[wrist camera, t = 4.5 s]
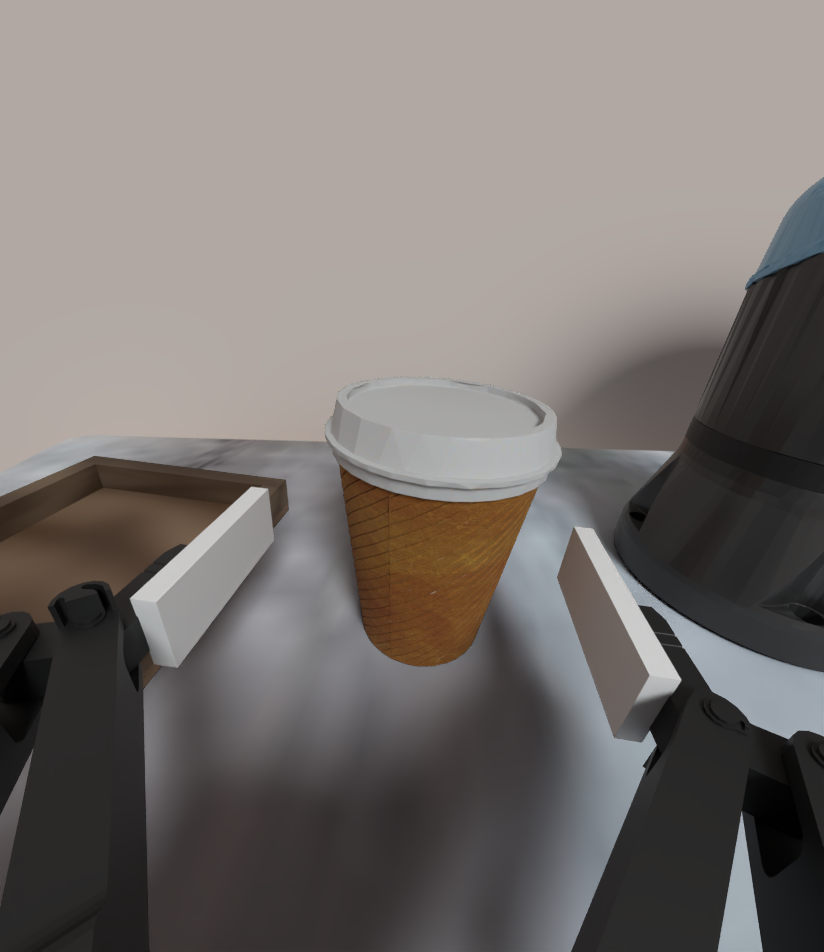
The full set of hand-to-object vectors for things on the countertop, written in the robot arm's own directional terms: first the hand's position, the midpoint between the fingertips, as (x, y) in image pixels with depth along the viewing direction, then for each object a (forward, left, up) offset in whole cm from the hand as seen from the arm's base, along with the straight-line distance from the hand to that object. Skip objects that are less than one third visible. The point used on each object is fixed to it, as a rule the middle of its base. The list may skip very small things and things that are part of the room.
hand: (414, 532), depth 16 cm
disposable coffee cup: (-1, -1, -7) cm, 7 cm away
